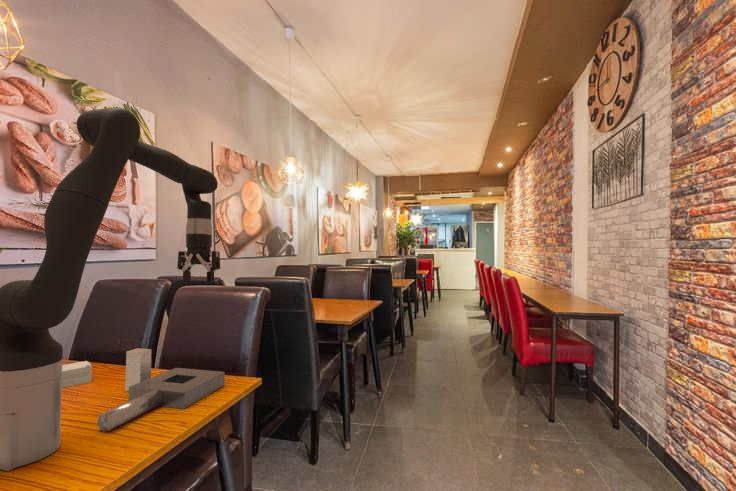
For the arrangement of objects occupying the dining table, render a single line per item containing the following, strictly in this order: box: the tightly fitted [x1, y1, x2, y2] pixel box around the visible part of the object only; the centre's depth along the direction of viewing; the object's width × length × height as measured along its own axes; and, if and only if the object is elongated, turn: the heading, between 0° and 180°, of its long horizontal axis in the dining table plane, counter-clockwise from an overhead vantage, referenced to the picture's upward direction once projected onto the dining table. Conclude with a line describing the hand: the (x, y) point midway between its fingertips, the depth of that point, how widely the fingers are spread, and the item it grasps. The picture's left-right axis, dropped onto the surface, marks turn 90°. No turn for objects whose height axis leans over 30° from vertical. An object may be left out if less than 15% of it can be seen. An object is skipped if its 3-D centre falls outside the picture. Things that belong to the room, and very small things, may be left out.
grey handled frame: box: [97, 367, 226, 433], centre depth 87 cm, size 29×17×4 cm, turn 167°
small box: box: [62, 360, 93, 389], centre depth 102 cm, size 8×8×5 cm
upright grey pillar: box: [125, 347, 152, 392], centre depth 97 cm, size 4×5×11 cm
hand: (198, 283), depth 109 cm, fingers open, 8 cm apart
